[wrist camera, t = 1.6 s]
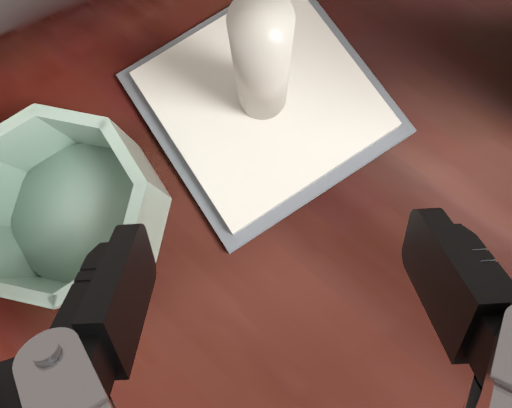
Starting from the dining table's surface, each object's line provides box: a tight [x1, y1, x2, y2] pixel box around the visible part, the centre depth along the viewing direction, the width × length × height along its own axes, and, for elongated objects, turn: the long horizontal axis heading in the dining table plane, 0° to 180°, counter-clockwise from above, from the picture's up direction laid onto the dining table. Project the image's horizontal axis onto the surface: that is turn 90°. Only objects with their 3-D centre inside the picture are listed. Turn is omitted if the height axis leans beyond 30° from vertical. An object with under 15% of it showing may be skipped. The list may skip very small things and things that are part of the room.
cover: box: [129, 0, 402, 235], centre depth 24 cm, size 15×15×10 cm
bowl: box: [0, 103, 172, 309], centre depth 26 cm, size 12×12×6 cm
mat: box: [116, 0, 417, 254], centre depth 29 cm, size 17×17×1 cm
